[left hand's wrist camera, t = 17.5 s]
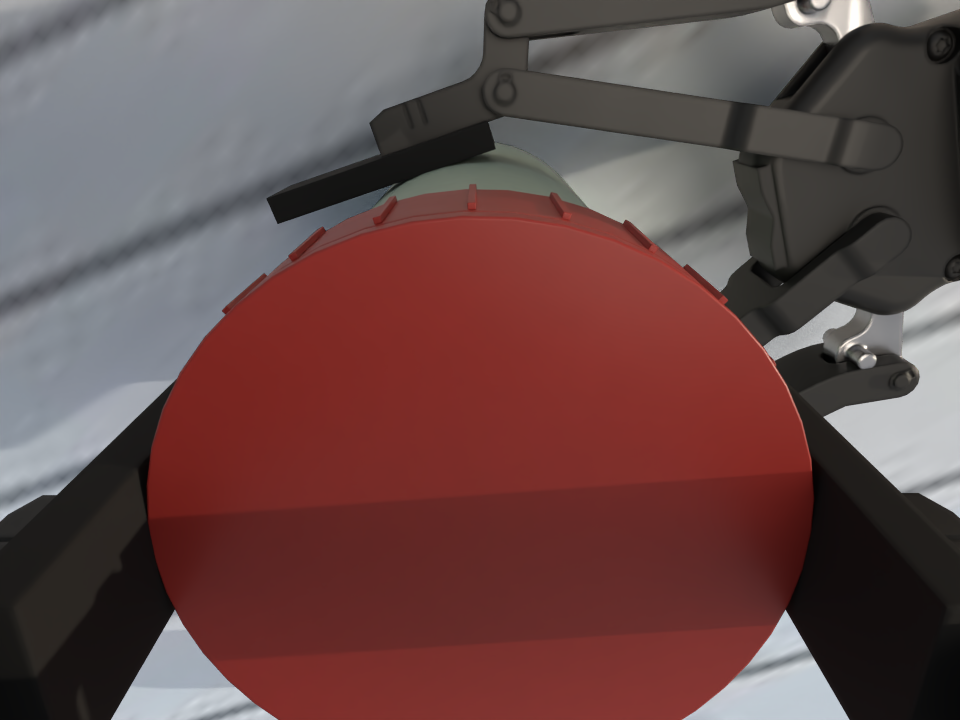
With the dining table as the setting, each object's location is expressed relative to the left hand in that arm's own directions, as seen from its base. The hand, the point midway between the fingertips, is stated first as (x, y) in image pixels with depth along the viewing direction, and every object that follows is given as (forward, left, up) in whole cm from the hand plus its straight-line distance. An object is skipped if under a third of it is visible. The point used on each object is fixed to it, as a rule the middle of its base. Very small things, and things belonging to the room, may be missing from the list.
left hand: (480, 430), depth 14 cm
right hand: (+1, -4, -9) cm, 10 cm away
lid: (0, 0, +3) cm, 3 cm away
